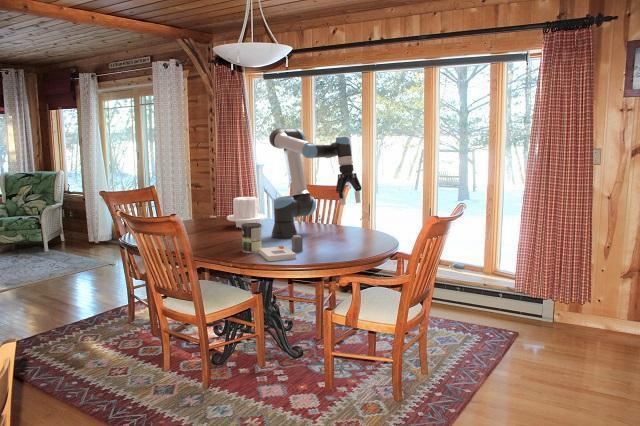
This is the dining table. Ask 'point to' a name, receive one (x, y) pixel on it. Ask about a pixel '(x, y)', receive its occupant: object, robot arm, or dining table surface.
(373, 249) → the dining table surface
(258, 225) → the coffee can
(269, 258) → the socket plate
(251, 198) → the ribbed cylinder on disc
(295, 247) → the plug
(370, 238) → the dining table surface
